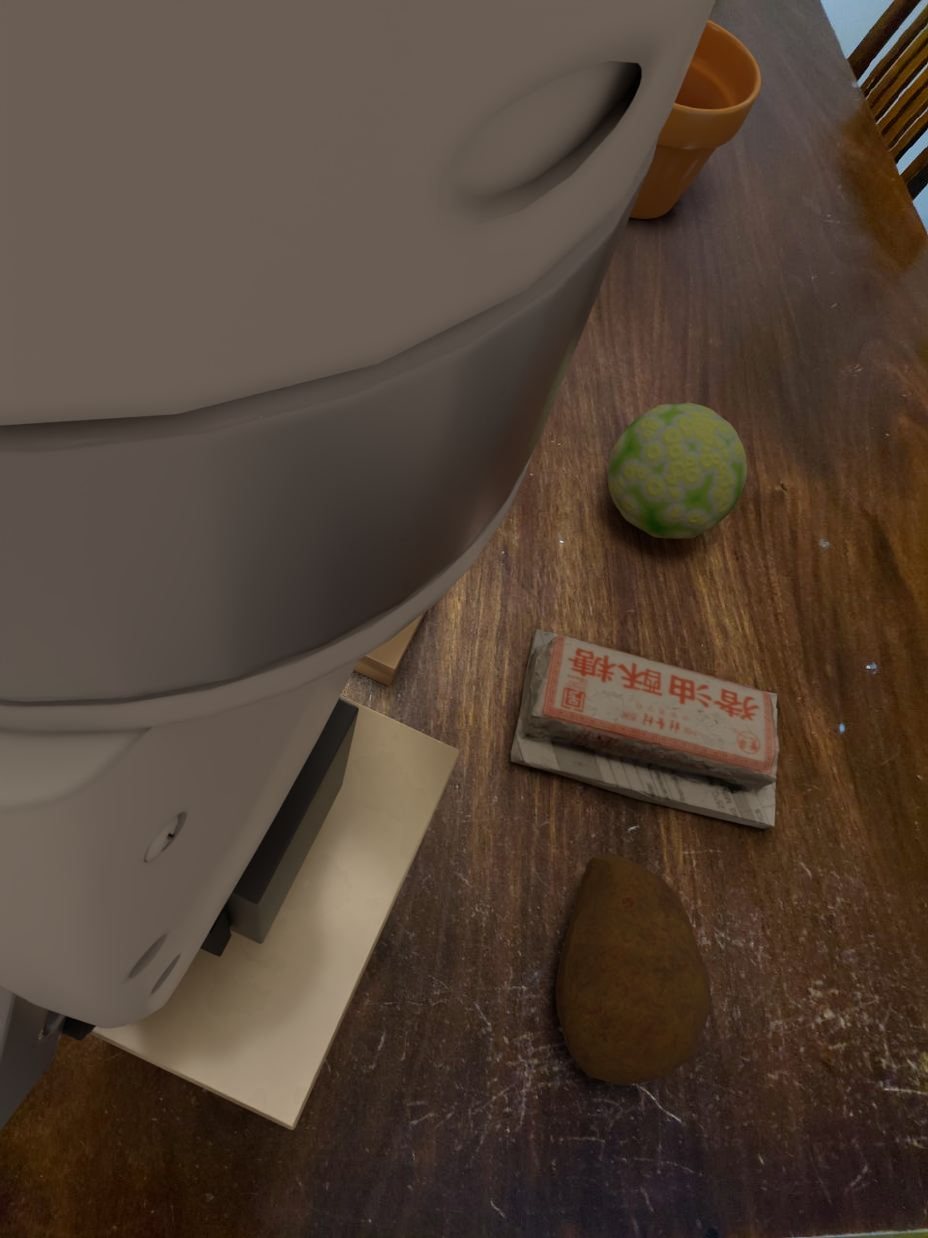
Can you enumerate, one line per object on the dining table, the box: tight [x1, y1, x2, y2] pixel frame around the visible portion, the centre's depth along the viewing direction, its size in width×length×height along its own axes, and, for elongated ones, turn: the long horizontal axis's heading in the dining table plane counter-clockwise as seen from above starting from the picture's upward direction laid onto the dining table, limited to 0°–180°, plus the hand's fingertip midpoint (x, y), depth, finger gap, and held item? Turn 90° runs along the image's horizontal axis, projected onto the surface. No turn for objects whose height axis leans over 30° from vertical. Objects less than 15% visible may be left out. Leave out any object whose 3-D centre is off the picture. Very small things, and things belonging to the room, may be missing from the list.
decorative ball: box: [607, 402, 748, 540], centre depth 67 cm, size 10×10×10 cm
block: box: [224, 698, 359, 944], centre depth 21 cm, size 4×4×6 cm
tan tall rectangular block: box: [88, 694, 461, 1131], centre depth 39 cm, size 10×11×30 cm
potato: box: [555, 851, 712, 1087], centre depth 51 cm, size 8×12×9 cm
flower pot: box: [629, 19, 762, 220], centre depth 83 cm, size 14×14×13 cm
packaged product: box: [510, 628, 781, 830], centre depth 61 cm, size 18×5×10 cm
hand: (221, 817), depth 23 cm, fingers closed on block, 4 cm apart
